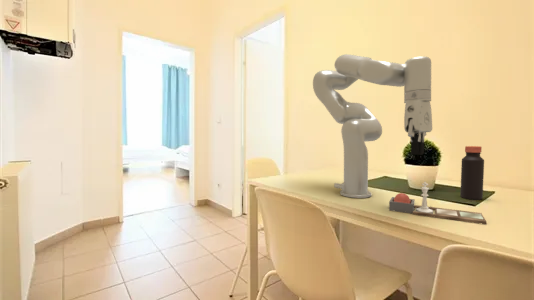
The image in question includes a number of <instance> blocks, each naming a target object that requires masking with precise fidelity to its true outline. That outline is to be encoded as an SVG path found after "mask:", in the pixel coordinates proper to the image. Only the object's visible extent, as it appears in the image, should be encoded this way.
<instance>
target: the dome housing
mask: <svg viewBox="0 0 534 300" xmlns="http://www.w3.org/2000/svg"><path fill="white" fill-rule="evenodd" d="M394 198H395V196H392V197H391V198H390V200H389V202H388V203H389V204H388V210H389V211H391V212H399V213H407V214H412V215H413V211H415V208H414V205H415V202H416V201H415V199H413V198H410V200H411V203H402V202H394Z"/></svg>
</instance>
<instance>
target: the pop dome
mask: <svg viewBox="0 0 534 300" xmlns="http://www.w3.org/2000/svg"><path fill="white" fill-rule="evenodd" d="M394 197H395V198H394V202H402V203H411V200H410V199H411V198H410V196H408V194H406V193H403V192H400V193H399V192H398V193H396V195H395V196H394Z"/></svg>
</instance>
